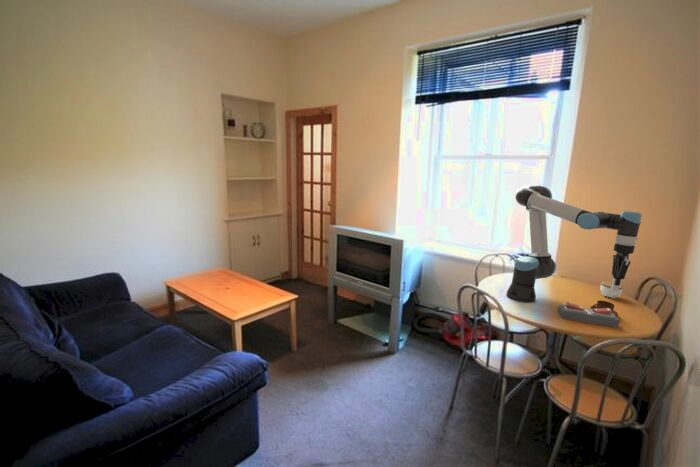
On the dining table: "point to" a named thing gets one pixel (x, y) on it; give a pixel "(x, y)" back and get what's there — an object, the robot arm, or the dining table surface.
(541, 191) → the robot arm
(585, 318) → the power strip
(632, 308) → the dining table surface
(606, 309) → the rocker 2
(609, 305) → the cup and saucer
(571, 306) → the rocker
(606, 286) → the lidded jar
